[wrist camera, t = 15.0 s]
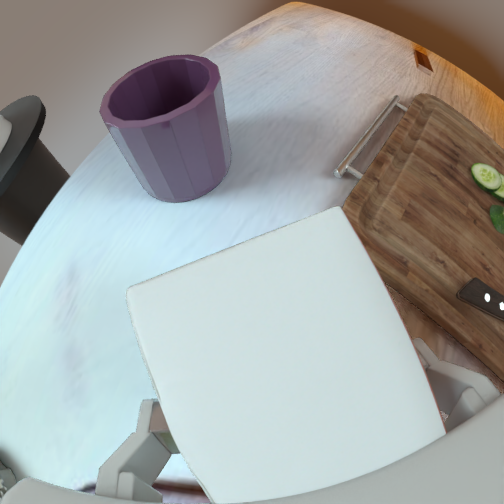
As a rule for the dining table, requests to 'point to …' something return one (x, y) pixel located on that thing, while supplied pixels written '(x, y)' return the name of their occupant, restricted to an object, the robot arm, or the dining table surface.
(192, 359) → the small box
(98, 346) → the dining table surface
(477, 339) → the chopping board
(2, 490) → the egg carton
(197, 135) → the plum cup
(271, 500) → the robot arm
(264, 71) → the dining table surface
